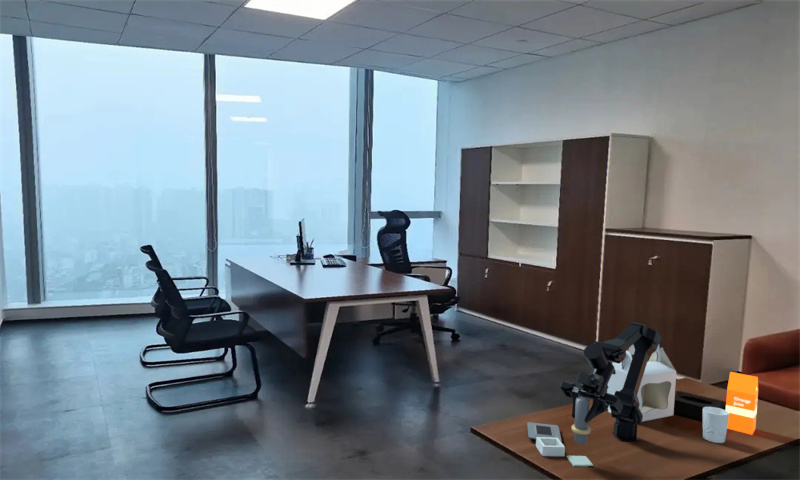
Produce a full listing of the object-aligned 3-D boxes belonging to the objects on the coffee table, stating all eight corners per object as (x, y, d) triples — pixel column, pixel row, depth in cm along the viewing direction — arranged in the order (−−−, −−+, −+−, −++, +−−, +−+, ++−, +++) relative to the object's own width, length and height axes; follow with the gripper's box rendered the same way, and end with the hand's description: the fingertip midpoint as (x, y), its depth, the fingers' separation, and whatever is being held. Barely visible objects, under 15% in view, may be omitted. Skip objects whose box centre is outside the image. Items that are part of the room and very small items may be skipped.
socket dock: (557, 446, 178) (557, 437, 178) (564, 456, 171) (565, 447, 171) (535, 446, 178) (536, 437, 177) (542, 455, 171) (542, 446, 170)
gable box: (645, 404, 222) (649, 335, 220) (674, 415, 210) (679, 343, 209) (605, 411, 212) (609, 339, 210) (633, 423, 200) (638, 348, 199)
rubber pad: (585, 457, 171) (585, 455, 171) (593, 466, 165) (593, 464, 165) (566, 457, 170) (566, 455, 170) (573, 466, 164) (573, 464, 164)
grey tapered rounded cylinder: (582, 436, 171) (584, 395, 170) (594, 444, 166) (596, 402, 165) (567, 438, 169) (569, 397, 168) (578, 446, 164) (581, 403, 163)
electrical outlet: (561, 447, 179) (561, 439, 179) (528, 443, 181) (528, 436, 181) (557, 431, 192) (558, 424, 192) (526, 427, 194) (527, 421, 194)
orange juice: (727, 422, 205) (731, 369, 204) (755, 428, 200) (759, 374, 198) (723, 428, 199) (727, 373, 198) (752, 435, 194) (756, 379, 192)
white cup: (724, 436, 191) (726, 408, 191) (729, 445, 184) (731, 416, 183) (698, 433, 194) (700, 405, 193) (703, 441, 186) (705, 412, 186)
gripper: (564, 355, 175) (542, 396, 169) (620, 369, 162) (599, 415, 155) (576, 375, 181) (555, 415, 175) (631, 390, 167) (611, 435, 161)
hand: (579, 419), depth 166 cm, fingers closed on grey tapered rounded cylinder, 4 cm apart
